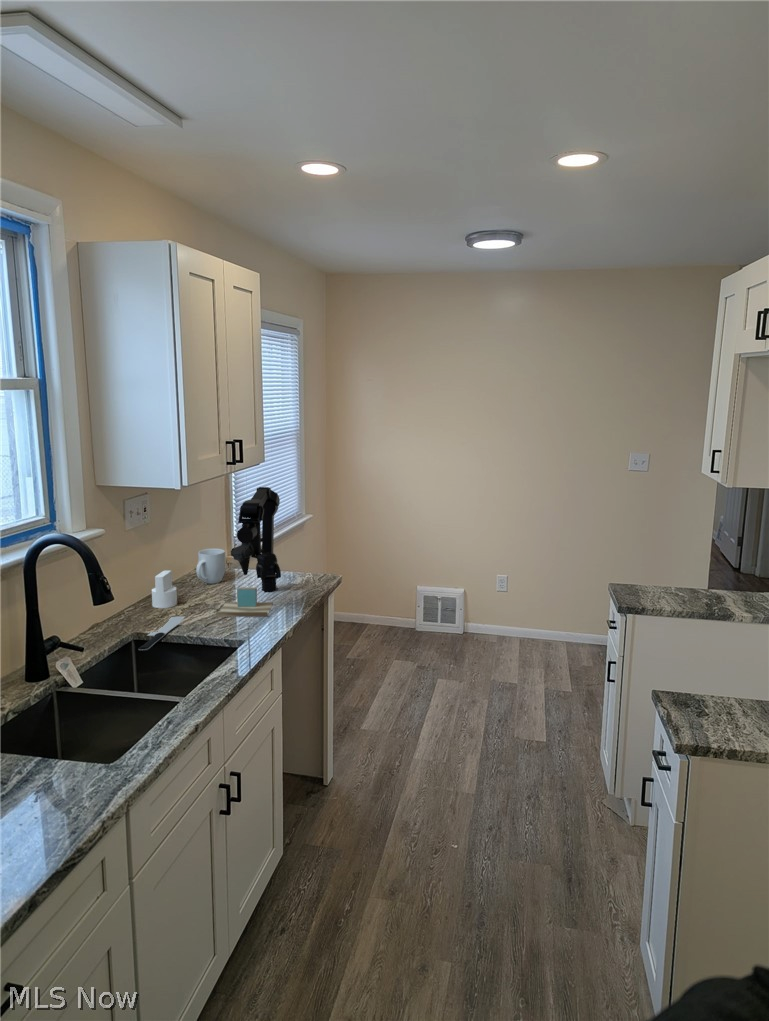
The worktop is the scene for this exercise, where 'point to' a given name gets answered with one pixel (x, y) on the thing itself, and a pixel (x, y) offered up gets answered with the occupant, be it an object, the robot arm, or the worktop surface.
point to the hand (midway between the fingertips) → (254, 577)
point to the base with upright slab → (164, 591)
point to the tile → (246, 597)
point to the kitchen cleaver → (161, 632)
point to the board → (244, 610)
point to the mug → (211, 565)
